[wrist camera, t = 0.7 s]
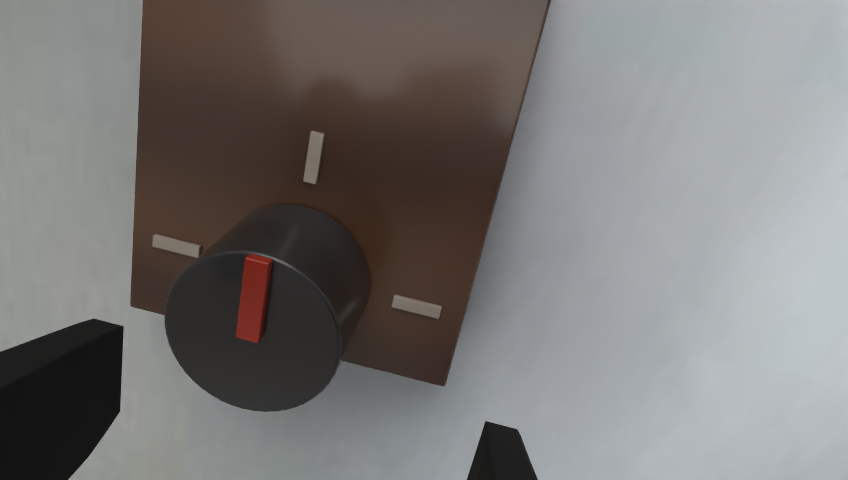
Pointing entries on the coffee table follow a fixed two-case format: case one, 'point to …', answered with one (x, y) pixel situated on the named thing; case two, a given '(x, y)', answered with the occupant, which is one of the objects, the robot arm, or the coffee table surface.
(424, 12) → the dial panel
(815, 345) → the coffee table surface
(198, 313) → the knob
